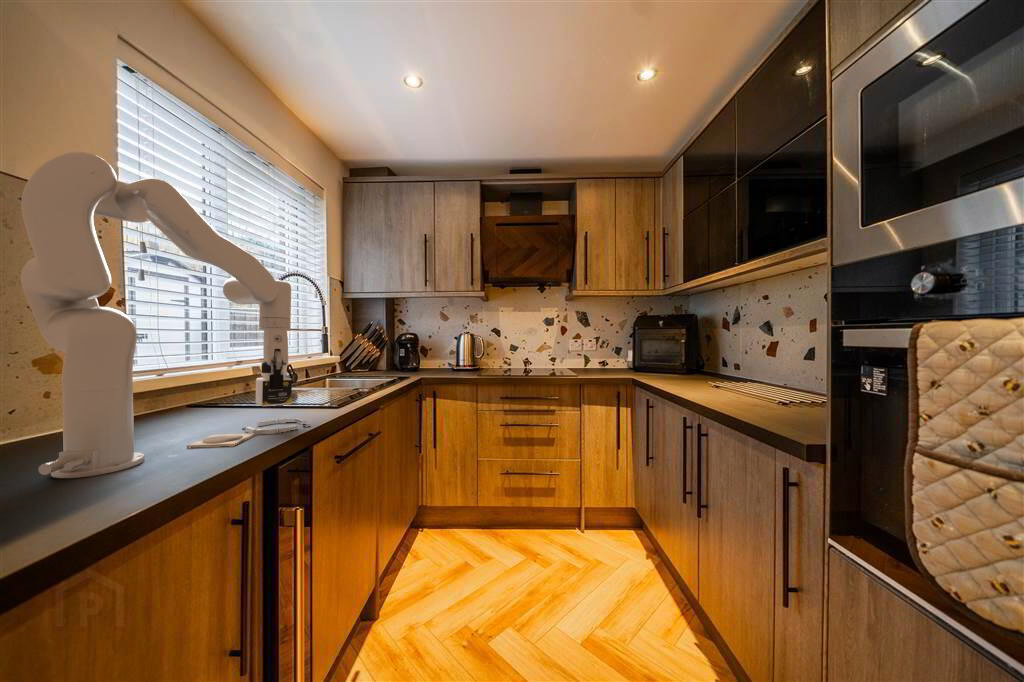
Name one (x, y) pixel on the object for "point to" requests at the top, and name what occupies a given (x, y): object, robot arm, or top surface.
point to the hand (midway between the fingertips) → (273, 387)
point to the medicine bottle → (272, 396)
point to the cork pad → (222, 440)
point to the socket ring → (274, 430)
